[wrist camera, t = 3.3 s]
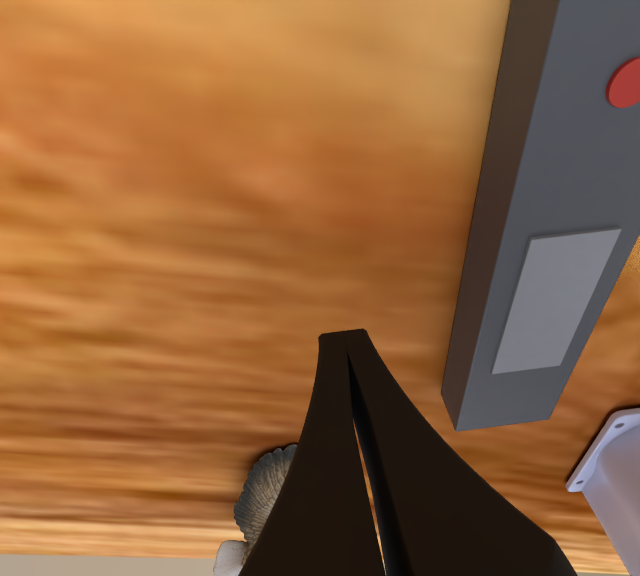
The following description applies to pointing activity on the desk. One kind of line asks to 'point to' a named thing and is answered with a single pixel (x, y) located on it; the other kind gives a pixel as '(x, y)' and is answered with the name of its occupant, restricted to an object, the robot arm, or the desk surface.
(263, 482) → the eagle figurine
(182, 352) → the desk surface
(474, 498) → the robot arm
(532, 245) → the remote
